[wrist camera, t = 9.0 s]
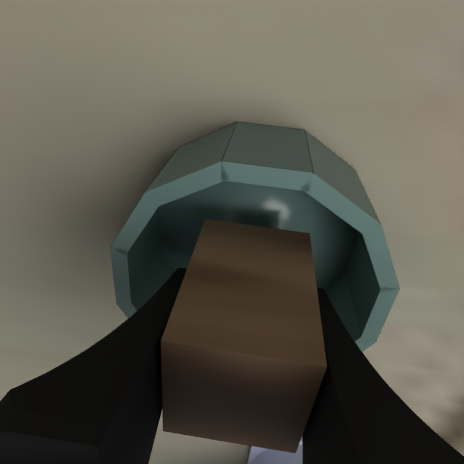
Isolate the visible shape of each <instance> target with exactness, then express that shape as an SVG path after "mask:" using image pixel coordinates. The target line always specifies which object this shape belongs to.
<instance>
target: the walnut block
mask: <svg viewBox="0 0 464 464" xmlns="http://www.w3.org/2000/svg"><path fill="white" fill-rule="evenodd" d="M161 367H162V408H163V431H166V432H172V433H177V434H183V435H189V436H195V437H201V438H207V439H213V440H219V441H225V442H231V443H237V444H242V445H248V446H254V447H260V448H266V449H272V450H278V451H284V452H290V453H296V451H297V449H298V446H299V443H300V440H301V437H302V435H303V432H304V429H305V426H306V424H307V421H308V418H309V415H310V413H311V410H312V407H313V404H314V401H315V399H316V396H317V393H318V390H319V388H320V385H321V382H322V379H323V377H324V374H325V371H326V368H327V362H326V355H325V347H324V339H323V332H322V324H321V316H320V309H319V301H318V293H317V285H316V278H315V270H314V262H313V255H312V247H311V239H310V233H305V232H298V231H290V230H283V229H276V228H269V227H261V226H254V225H247V224H240V223H232V222H225V221H218V220H210V219H205V221H204V224H203V227H202V229H201V232H200V235H199V238H198V240H197V243H196V246H195V249H194V251H193V254H192V257H191V260H190V262H189V265H188V268H187V271H186V273H185V276H184V279H183V281H182V284H181V287H180V290H179V292H178V295H177V298H176V301H175V303H174V306H173V309H172V312H171V314H170V317H169V320H168V323H167V325H166V328H165V331H164V334H163V336H162V339H161Z"/></svg>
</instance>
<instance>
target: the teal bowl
mask: <svg viewBox="0 0 464 464" xmlns="http://www.w3.org/2000/svg"><path fill="white" fill-rule="evenodd" d="M205 219H210V220H218V221H225V222H232V223H240V224H247V225H254V226H261V227H269V228H276V229H283V230H290V231H298V232H305V233H310V239H311V247H312V255H313V262H314V270H315V278H316V285H317V287H318V288H323V289H324V290H325V291H326V293H327V295H328V297H329V299H330V301H331V303H332V304H333V306H334V308H335V310H336V312H337V313H338V315H339V317H340V319H341V320H342V322H343V324H344V325H345V327H346V329H347V330H348V332H349V333H350V335H351V336H352V338H353V340H354V341H355V343H356V344H357V346H358V347H359V348H360V350H361V351H364V350H365V349H367V348H368V347H370V346H371V345H373V344H374V343H375V342H376V341H377V338H378V336H379V334H380V332H381V329H382V327H383V325H384V323H385V320H386V318H387V316H388V314H389V312H390V309H391V307H392V305H393V303H394V300H395V298H396V296H397V294H398V292H399V284H398V281H397V277H396V274H395V270H394V267H393V264H392V260H391V257H390V253H389V250H388V246H387V243H386V240H385V236H384V233H383V229H382V226H381V223H380V221H379V219H378V217H377V215H376V213H375V210H374V208H373V206H372V204H371V202H370V200H369V198H368V196H367V193H366V191H365V189H364V187H363V185H362V183H361V181H360V179H359V176H358V174H357V172H356V170H355V169H354V168H353V167H351V166H350V165H349V164H348V163H346V162H345V161H344V160H342V159H341V158H340V157H339V156H337V155H336V154H335V153H334V152H332V151H331V150H330V149H328V148H327V147H326V146H325V145H323V144H322V143H321V142H320V141H318V140H317V139H316V138H314V137H313V136H312V135H311V134H309V133H308V132H307V131H306V130H301V129H293V128H285V127H276V126H268V125H260V124H252V123H244V122H235V123H233V124H231V125H228V126H226V127H224V128H222V129H219V130H217V131H215V132H212V133H210V134H208V135H206V136H203V137H201V138H199V139H197V140H194V141H192V142H190V143H187V144H185V145H183V146H181V147H179V148H178V149H177V151H176V152H175V153H174V155H173V156H172V157H171V159H170V160H169V161H168V163H167V164H166V165H165V167H164V168H163V169H162V171H161V172H160V173H159V175H158V176H157V177H156V179H155V180H154V181H153V183H152V184H151V185H150V186H149V188H148V189H147V190H146V192H145V193H144V195H143V196H142V198H141V200H140V201H139V203H138V204H137V206H136V207H135V209H134V211H133V212H132V214H131V215H130V217H129V218H128V220H127V222H126V223H125V225H124V226H123V228H122V229H121V231H120V233H119V234H118V236H117V237H116V239H115V240H114V242H113V244H112V245H111V247H110V249H111V258H112V267H113V275H114V284H115V293H116V302H117V304H118V306H119V307H120V308H121V310H122V311H123V312H124V313H125V315H126V316H127V317H128V318H129V317H131V316H132V315H133V314H134V313H135V312H136V311H137V310H138V309H139V308H141V307H142V306H143V305H144V304H145V303H146V302H147V301H148V300H149V299H150V298H151V297H152V296H153V295H154V294H155V293H156V292H157V291H158V290H159V289H160V288H161V286H162V285H163V284H164V283H165V282H166V281H167V280H168V279H169V277H170V276H171V275H172V274H173V273H174V271H175V270H176V269H178V268H179V267H180V268H186V269H187V268H188V265H189V262H190V260H191V257H192V254H193V251H194V249H195V246H196V243H197V240H198V238H199V235H200V232H201V229H202V227H203V224H204V221H205Z"/></svg>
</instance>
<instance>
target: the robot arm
mask: <svg viewBox="0 0 464 464" xmlns="http://www.w3.org/2000/svg"><path fill="white" fill-rule="evenodd" d="M186 271H187V269H186V268H180V267H179V268H178V269H176V270H175V271H174V273H173V274H172V275H171V276H170V277H169V279H168V280H167V281H166V282H165V283H164V284H163V285H162V286H161V288H160V289H159V290H158V291H157V292H156V293H155V294H154V295H153V296H152V297H151V298H150V299H149V300H148V301H147V302H146V303H145V304H144V305H143V306H142V307H141V308H139V309H138V310H137V311H136V312H135V313H134V314H133V315H132V316H131V317H129V318H128V319H127V320H126V321H125V322H124V323H122V324H121V325H120V326H119V327H117V328H116V329H115V330H114V331H112V332H111V333H110V334H108V335H107V336H106V337H104V338H103V339H101V340H100V341H98V342H97V343H96V344H94V345H93V346H91V347H90V348H88V349H87V350H85V351H84V352H82V353H80V354H79V355H77V356H75V357H74V358H72V359H70V360H68V361H67V362H65V363H63V364H61V365H60V366H58V367H56V368H54V369H53V370H51V371H49V372H47V373H45V374H43V375H41V376H39V377H37V378H34V379H32V380H30V381H28V382H26V383H24V384H22V385H20V386H18V387H15V388H13V389H11V390H9V392H8V393H7V394H6V395H5V396H4V398H3V399H2V400H1V401H0V464H148V463H149V459H150V455H151V451H152V447H153V443H154V439H155V435H156V431H157V427H158V423H159V419H160V416H161V412H162V367H161V339H162V336H163V334H164V331H165V328H166V325H167V323H168V320H169V317H170V314H171V312H172V309H173V306H174V303H175V301H176V298H177V295H178V292H179V290H180V287H181V284H182V281H183V279H184V276H185V273H186ZM317 293H318V301H319V309H320V316H321V324H322V332H323V339H324V347H325V355H326V362H327V368H326V371H325V374H324V377H323V379H322V382H321V385H320V388H319V390H318V393H317V396H316V399H315V401H314V404H313V407H312V410H311V413H310V415H309V418H308V421H307V424H306V426H305V429H304V432H303V435H302V437H301V440H300V443H299V446H298V449H297V451H296V453H290V452H284V451H278V450H272V449H266V448H260V447H254V446H251V449H250V453H249V457H248V462H247V464H464V456H463V455H461V454H460V453H459V452H458V451H456V450H455V449H454V448H453V447H452V446H450V445H449V444H448V443H447V442H446V441H444V440H443V439H442V438H441V437H440V436H439V435H438V434H436V433H435V432H434V431H433V430H432V429H431V428H430V427H429V426H428V425H427V424H426V423H425V422H423V421H422V420H421V419H420V418H419V417H418V416H417V415H416V414H415V413H414V412H413V411H412V410H411V409H410V408H409V407H408V406H407V405H406V404H405V403H404V402H403V401H402V400H401V398H400V397H399V396H398V395H397V394H396V393H395V392H394V391H393V390H392V389H391V388H390V387H389V386H388V384H387V383H386V382H385V381H384V380H383V379H382V377H381V376H380V375H379V374H378V372H377V371H376V370H375V369H374V367H373V366H372V365H371V364H370V362H369V361H368V360H367V358H366V357H365V355H364V354H363V353H362V351H361V350H360V348H359V347H358V346H357V344H356V343H355V341H354V340H353V338H352V336H351V335H350V333H349V332H348V330H347V329H346V327H345V325H344V324H343V322H342V320H341V319H340V317H339V315H338V313H337V312H336V310H335V308H334V306H333V304H332V303H331V301H330V299H329V297H328V295H327V293H326V291H325V290H324V289H323V288H318V287H317Z"/></svg>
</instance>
